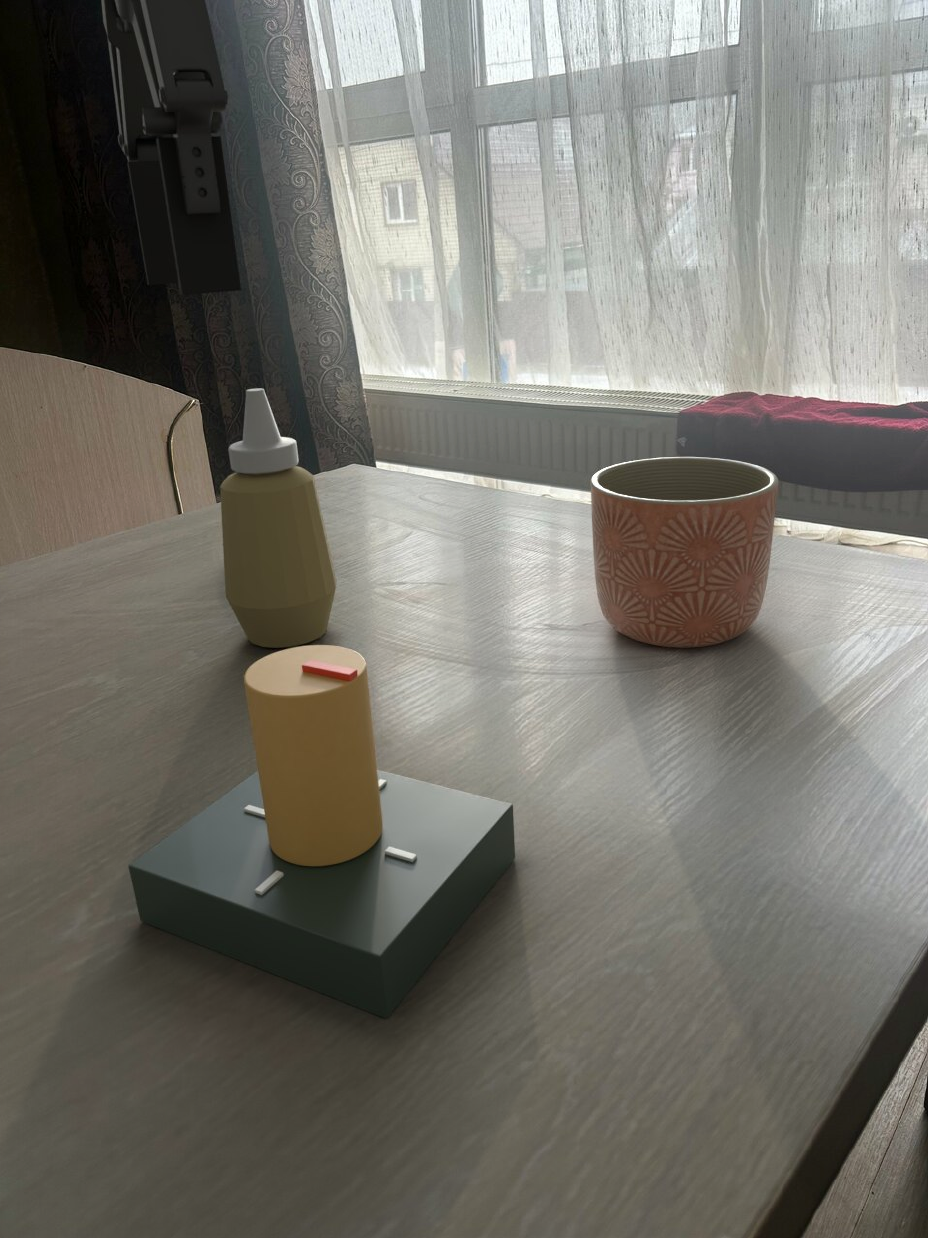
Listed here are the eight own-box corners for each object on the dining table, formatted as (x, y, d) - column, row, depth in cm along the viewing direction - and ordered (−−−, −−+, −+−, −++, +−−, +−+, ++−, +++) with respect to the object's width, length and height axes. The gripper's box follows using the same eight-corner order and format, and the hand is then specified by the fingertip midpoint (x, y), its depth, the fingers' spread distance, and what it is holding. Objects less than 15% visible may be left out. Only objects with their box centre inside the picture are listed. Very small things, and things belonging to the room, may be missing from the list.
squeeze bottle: (237, 664, 67) (195, 404, 61) (229, 624, 75) (192, 387, 68) (351, 646, 69) (323, 391, 63) (333, 608, 77) (306, 376, 70)
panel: (140, 921, 43) (126, 862, 41) (295, 796, 51) (288, 744, 50) (387, 1020, 36) (379, 953, 35) (515, 858, 45) (513, 801, 44)
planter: (558, 618, 72) (555, 474, 68) (689, 584, 77) (694, 448, 73) (663, 678, 62) (667, 513, 58) (806, 634, 67) (820, 480, 63)
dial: (245, 849, 42) (216, 676, 39) (315, 791, 46) (294, 630, 43) (339, 880, 40) (316, 698, 36) (404, 816, 44) (388, 648, 40)
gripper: (254, -352, 34) (320, 290, 42) (163, -119, 55) (219, 276, 63) (22, -388, 31) (140, 304, 39) (22, -128, 52) (98, 284, 61)
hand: (189, 288), depth 51 cm, fingers open, 13 cm apart
